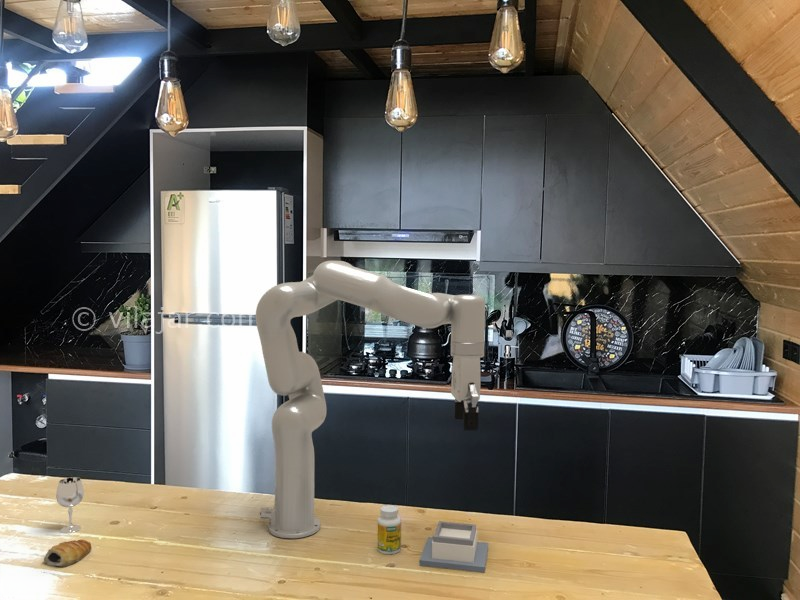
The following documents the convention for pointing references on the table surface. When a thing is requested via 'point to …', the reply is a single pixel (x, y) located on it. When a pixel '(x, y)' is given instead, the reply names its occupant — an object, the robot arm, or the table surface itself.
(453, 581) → the table surface
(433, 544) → the display stand
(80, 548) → the pastry
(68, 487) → the wineglass
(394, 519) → the supplement bottle
